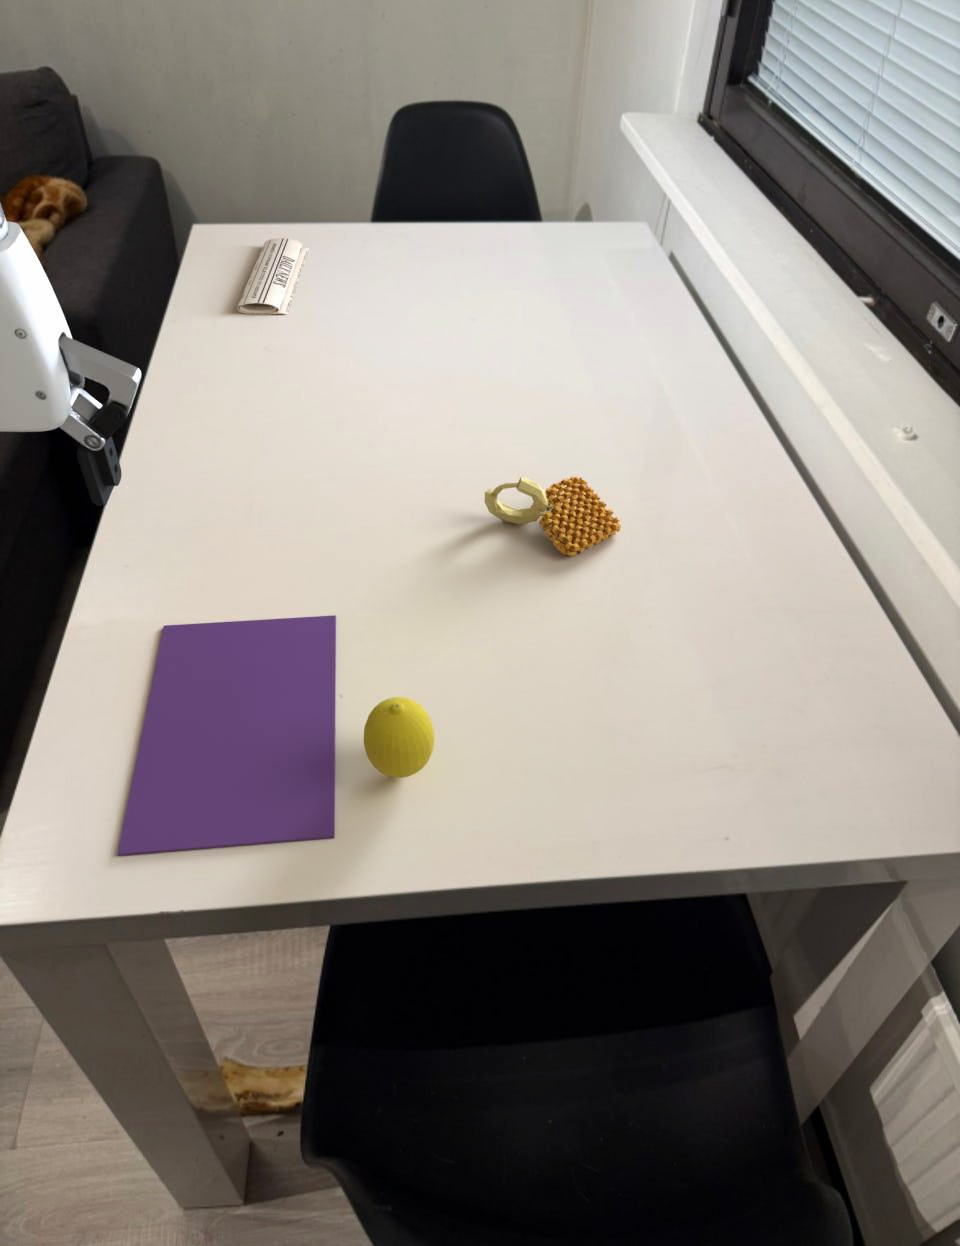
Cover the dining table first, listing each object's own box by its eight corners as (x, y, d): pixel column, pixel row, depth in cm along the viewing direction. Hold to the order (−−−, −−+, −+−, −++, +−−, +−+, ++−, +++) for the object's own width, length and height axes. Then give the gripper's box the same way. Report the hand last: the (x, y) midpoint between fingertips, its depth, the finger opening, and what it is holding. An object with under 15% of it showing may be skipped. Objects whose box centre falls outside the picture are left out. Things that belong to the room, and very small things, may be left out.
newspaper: (266, 248, 143) (264, 237, 141) (309, 249, 143) (307, 238, 142) (238, 314, 126) (236, 302, 125) (287, 315, 126) (285, 303, 125)
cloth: (334, 838, 66) (334, 836, 66) (118, 856, 65) (117, 854, 64) (336, 617, 83) (335, 615, 83) (164, 627, 81) (163, 625, 81)
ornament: (634, 470, 92) (499, 434, 91) (628, 548, 87) (484, 511, 85) (613, 509, 98) (485, 475, 96) (606, 584, 92) (470, 549, 91)
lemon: (433, 797, 69) (431, 736, 63) (363, 795, 69) (355, 734, 63) (436, 741, 73) (435, 679, 67) (370, 739, 73) (364, 677, 67)
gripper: (-319, 229, 39) (-145, 527, 51) (74, 241, 40) (154, 530, 52) (-230, 173, 44) (-91, 455, 56) (116, 185, 46) (180, 459, 58)
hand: (27, 491), depth 54 cm, fingers open, 9 cm apart
